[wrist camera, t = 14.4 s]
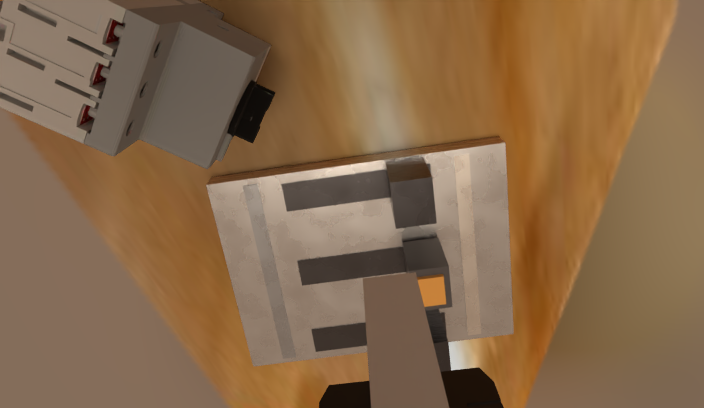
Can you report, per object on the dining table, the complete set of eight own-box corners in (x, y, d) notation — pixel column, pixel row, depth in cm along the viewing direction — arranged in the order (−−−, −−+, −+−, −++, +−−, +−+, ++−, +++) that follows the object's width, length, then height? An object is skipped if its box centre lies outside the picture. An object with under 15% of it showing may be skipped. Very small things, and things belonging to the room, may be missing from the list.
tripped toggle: (402, 242, 45) (409, 273, 40) (438, 237, 45) (449, 268, 40) (407, 279, 46) (414, 314, 41) (441, 275, 46) (453, 309, 41)
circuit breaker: (260, 135, 44) (220, 203, 30) (89, 56, 41) (-42, 89, 28) (298, 50, 41) (273, 80, 28) (118, -40, 39) (-9, -57, 25)
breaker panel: (212, 177, 45) (188, 208, 39) (498, 136, 44) (525, 161, 37) (256, 352, 52) (243, 405, 45) (507, 321, 51) (531, 369, 44)
